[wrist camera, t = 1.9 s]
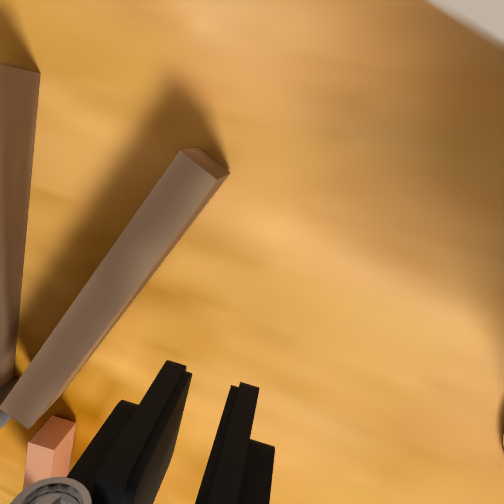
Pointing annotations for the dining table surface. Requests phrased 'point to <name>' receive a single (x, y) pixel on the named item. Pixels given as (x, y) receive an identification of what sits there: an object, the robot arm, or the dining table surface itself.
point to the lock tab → (49, 451)
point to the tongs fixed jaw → (14, 205)
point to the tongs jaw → (116, 281)
